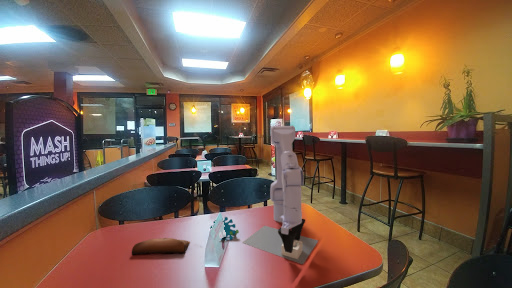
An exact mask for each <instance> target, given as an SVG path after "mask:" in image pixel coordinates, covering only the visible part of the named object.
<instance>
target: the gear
mask: <svg viewBox="0 0 512 288" xmlns="http://www.w3.org/2000/svg"><path fill="white" fill-rule="evenodd" d="M215 221H217V219H216V220H214V221H213V224H214V223H215ZM226 221H227V222H226ZM233 221H234V220H233V219H229V218H228V217H227V216H225V217H224V218H223V220H222V222H224V225H225V227H224V230H225V232H226V237H228V236H229V237H228V238H229V241H231V240H233V239H234V237H235V236H237V235H238V234H239V233H240V231H239V229H236V223H234V222H233ZM233 223H234V224H233ZM212 226H213V225H211V226H210V230H211V228H212Z"/></svg>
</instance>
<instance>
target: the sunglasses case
mask: <svg viewBox="0 0 512 288" xmlns="http://www.w3.org/2000/svg"><path fill="white" fill-rule="evenodd" d="M190 244H191V241H189V240H186V239H185V240H184V239H176V238H172V237H162V238H152V239H147V240H143V241H141V242H137V243H135V244H134V245H133V247H132V249H131V255H132V256H134V255H145V254H164V253H166V254H169V253H170V254H171V253H175V254H177V253H178V254H179V253H184V254H186V253H187V250H188V249H189V246H190Z"/></svg>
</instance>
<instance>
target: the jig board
mask: <svg viewBox="0 0 512 288" xmlns="http://www.w3.org/2000/svg"><path fill="white" fill-rule="evenodd" d="M278 230H279V228H275V227H271V226H267V225H263V226H262V227H261V228H260V229H258V230H257V231H256V232H255V233H253V234H251V235H250V236H249V237H247V238H246V239H245V240H243V241H241V242H242V244H245V245H247V246H250V247H252V248H255V249H258V250H262V251H264V252H266V253H270V254H272V255H275V256H278V257H279V258H280V257H281V258H284V259H287V260H289V261H292V262H295V263H297V264H300V265H304V263H306V260H307V259H308V258H309V256H310V254H311V253H312V251H313V250H314V248H315V247H316V245H317V244H318V242H319V240H317V239H314V238H310V237H308V236H303V235H301V236H300V240H299V241H301V242H302V247H303V250H302V252H301V254H300V256H299V258H298V259H295V258H292V257H288V256H285V255H282V254H281V245H282V244H283V242H282V239H281V237H280V235H279V234H278Z"/></svg>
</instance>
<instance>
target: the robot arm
mask: <svg viewBox="0 0 512 288" xmlns="http://www.w3.org/2000/svg"><path fill="white" fill-rule="evenodd" d="M296 133H297V132H296V128H295V126H294V125H279V126H278V125H272V126H271V127H270V143H271V145H275V149H276V150H275V151H276V152H275V153H276V155H275V156H276V160H275V161H276V180H274V181H273V182H272V183H271V184H270V190H269V191H270V193H269V194H270V195H269V196H270V198H269V199H270V201H271V202H272V203H273V220H274V221H275V222H277V223H282V226H281V227H280V228H278V229H279V230H278V234H279V235H280V237H281V239H282V242H283V245H284V249H285V252H289V253H292V250H293V243H294V240H297V241H299V240H300V236H302V235H301V234H302V231H303V227H304V225H305V223H306V219H305V218H303V212H302V187H304V183H305V182H304V181H305V180H304V179H305V178H304V171H303V169H302V167H301V166H300V165H299V162H298V161H299V160H298V157H297V153H295V152H294V151H293V144H292V143H293V142H294V141H295V139H296V135H297V134H296Z"/></svg>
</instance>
